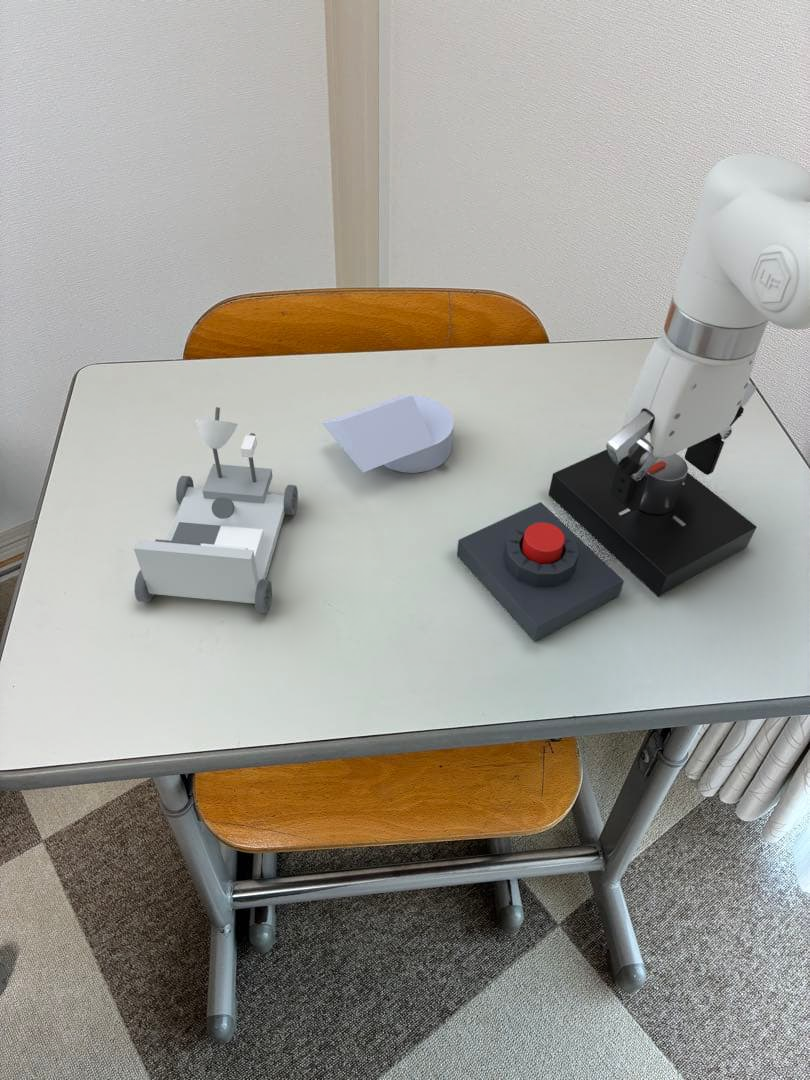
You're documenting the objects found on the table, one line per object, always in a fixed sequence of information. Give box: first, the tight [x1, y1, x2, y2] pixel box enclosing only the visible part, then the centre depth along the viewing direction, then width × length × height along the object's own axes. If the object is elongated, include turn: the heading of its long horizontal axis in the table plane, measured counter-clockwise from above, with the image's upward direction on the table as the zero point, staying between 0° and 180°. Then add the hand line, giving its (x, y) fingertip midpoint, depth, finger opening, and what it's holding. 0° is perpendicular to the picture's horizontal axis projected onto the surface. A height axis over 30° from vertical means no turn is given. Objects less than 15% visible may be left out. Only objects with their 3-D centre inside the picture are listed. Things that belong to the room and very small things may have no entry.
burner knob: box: [639, 452, 689, 514], centre depth 76 cm, size 4×4×5 cm
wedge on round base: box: [321, 394, 455, 474], centre depth 84 cm, size 9×7×13 cm
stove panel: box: [548, 437, 758, 598], centre depth 79 cm, size 16×12×3 cm
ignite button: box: [522, 523, 565, 564], centre depth 72 cm, size 4×4×2 cm
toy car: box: [133, 406, 299, 614], centre depth 74 cm, size 18×10×12 cm
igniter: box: [456, 501, 625, 642], centre depth 74 cm, size 12×10×4 cm
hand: (661, 483), depth 76 cm, fingers open, 9 cm apart
